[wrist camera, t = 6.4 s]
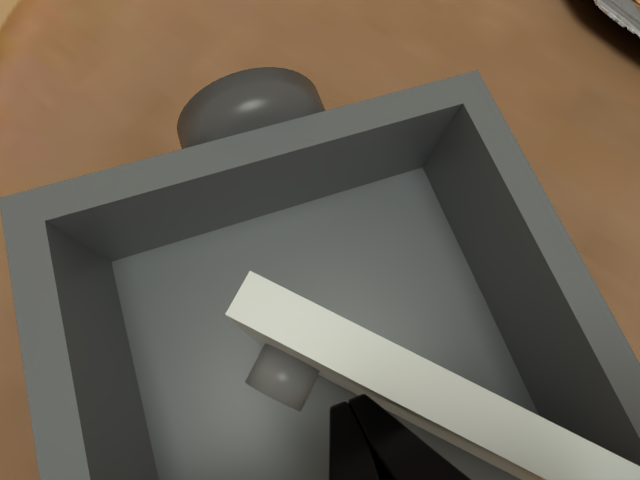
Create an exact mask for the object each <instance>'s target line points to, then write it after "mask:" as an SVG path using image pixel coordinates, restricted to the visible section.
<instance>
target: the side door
mask: <svg viewBox="0 0 640 480" xmlns="http://www.w3.org/2000/svg"><path fill="white" fill-rule="evenodd" d="M225 315H226V316H227V317H229V318H230V319H231V320H232V321H233V322H234V323H235V324H237V325H238V326H239V327H240V328H241V329H242V330H243V331H245V332H246V333H247V334H248V335H249V336H250V337H251V338H253V339H254V340H255V341H256V342H257V343H258V344H260V345H262V346H263V348H262V350H261V352H260V354H259V356H258V358H257V360H256V362H255V363H254V365H253V367H252V369H251V371H250V373H249V375H248V377H247V379H246V381H245V383H247V384H248V385H249V386H251V387H253V388H254V389H256V390H258V391H259V392H261V393H263V394H265V395H266V396H268V397H270V398H272V399H274V400H276V401H278V402H280V403H282V404H284V405H286V406H288V407H290V408H293V409H295V410H297V411H301V410H302V408H303V406H304V404H305V402H306V400H307V398H308V395H309V393H310V391H311V389H312V387H313V385H314V383H315V380H316V378H317V376H318V375H320V376H322V377H324V378H325V379H327V380H329V381H331V382H333V383H335V384H337V385H339V386H341V387H343V388H345V389H347V390H349V391H351V392H353V393H354V394H356V395H361V394H366V395H367V396H369V397H370V398H371V399H372V400H374V401H375V402H376V403H377V404H379V405H380V406H381V407H382V408H384V409H385V410H387V411H389V412H391V413H393V414H395V415H397V416H399V417H401V418H403V419H405V420H407V421H409V422H411V423H413V424H414V425H416V426H418V427H420V428H422V429H424V430H426V431H428V432H430V433H432V434H434V435H436V436H438V437H440V438H442V439H443V440H445V441H447V442H449V443H451V444H453V445H455V446H457V447H459V448H461V449H463V450H465V451H467V452H469V453H471V454H472V455H474V456H476V457H478V458H480V459H482V460H484V461H486V462H488V463H490V464H492V465H494V466H496V467H498V468H500V469H501V470H503V471H505V472H507V473H509V474H511V475H513V476H515V477H517V478H519V479H521V480H640V466H638V465H636V464H634V463H632V462H630V461H628V460H626V459H624V458H622V457H620V456H618V455H616V454H614V453H612V452H610V451H608V450H606V449H604V448H602V447H600V446H598V445H596V444H594V443H592V442H590V441H588V440H586V439H584V438H582V437H580V436H578V435H576V434H574V433H572V432H570V431H568V430H566V429H564V428H562V427H560V426H558V425H556V424H554V423H552V422H550V421H548V420H546V419H545V418H543V417H541V416H539V415H537V414H535V413H533V412H531V411H529V410H527V409H525V408H523V407H521V406H519V405H517V404H515V403H513V402H511V401H509V400H507V399H505V398H503V397H501V396H499V395H497V394H495V393H493V392H491V391H489V390H487V389H485V388H483V387H481V386H479V385H477V384H475V383H473V382H471V381H469V380H467V379H465V378H463V377H461V376H459V375H457V374H455V373H453V372H451V371H449V370H447V369H445V368H443V367H441V366H439V365H437V364H435V363H433V362H431V361H429V360H427V359H425V358H423V357H421V356H419V355H417V354H415V353H413V352H411V351H409V350H407V349H405V348H403V347H401V346H399V345H397V344H395V343H393V342H391V341H389V340H387V339H385V338H383V337H381V336H379V335H377V334H375V333H373V332H371V331H369V330H367V329H365V328H363V327H361V326H359V325H357V324H355V323H353V322H351V321H349V320H347V319H345V318H343V317H341V316H339V315H337V314H335V313H333V312H331V311H329V310H327V309H325V308H323V307H322V306H320V305H318V304H316V303H314V302H312V301H310V300H308V299H306V298H304V297H302V296H300V295H298V294H296V293H294V292H292V291H290V290H288V289H286V288H284V287H282V286H280V285H278V284H276V283H274V282H272V281H270V280H268V279H266V278H264V277H262V276H260V275H258V274H256V273H254V272H252V271H249V273H248V275H247V277H246V278H245V280H244V282H243V284H242V285H241V287H240V289H239V291H238V292H237V294H236V296H235V298H234V300H233V301H232V303H231V305H230V307H229V308H228V310H227V312H226V314H225Z"/></svg>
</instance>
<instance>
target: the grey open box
mask: <svg viewBox="0 0 640 480" xmlns="http://www.w3.org/2000/svg"><path fill="white" fill-rule="evenodd" d="M177 132H178V137H179V140H180V144H181V147H182V149H181V150H177V151H173V152H169V153H166V154H162V155H158V156H154V157H151V158H147V159H143V160H140V161H136V162H132V163H128V164H125V165H121V166H117V167H113V168H110V169H106V170H102V171H98V172H95V173H91V174H87V175H83V176H80V177H76V178H72V179H69V180H65V181H61V182H57V183H54V184H50V185H46V186H42V187H39V188H35V189H31V190H27V191H24V192H20V193H16V194H12V195H9V196H5V197H1V198H0V209H1V216H2V223H3V230H4V237H5V244H6V251H7V258H8V264H9V271H10V278H11V285H12V292H13V299H14V306H15V313H16V319H17V326H18V333H19V340H20V347H21V354H22V361H23V368H24V374H25V381H26V388H27V395H28V402H29V409H30V416H31V423H32V430H33V436H34V443H35V450H36V457H37V464H38V471H39V478H40V480H329V411H330V407H331V406H333V405H335V404H338V403H340V402H343V401H347V402H348V400H349V399H350V398H353V397H356V396H358V395H356V394H354V393H353V392H351V391H349V390H347V389H345V388H343V387H341V386H339V385H337V384H335V383H333V382H331V381H329V380H327V379H325V378H324V377H322V376H320V375H318V376H317V378H316V380H315V383H314V385H313V387H312V389H311V391H310V393H309V395H308V398H307V400H306V402H305V404H304V406H303V408H302V410H301V411H297V410H295V409H293V408H290V407H288V406H286V405H284V404H282V403H280V402H278V401H276V400H274V399H272V398H270V397H268V396H266V395H265V394H263V393H261V392H259V391H258V390H256V389H254V388H253V387H251V386H249V385H248V384H247V383H245V381H246V379H247V377H248V375H249V373H250V371H251V369H252V367H253V365H254V363H255V362H256V360H257V358H258V356H259V354H260V352H261V350H262V348H263V346H262V345H260V344H258V343H257V342H256V341H255V340H254V339H253V338H251V337H250V336H249V335H248V334H247V333H246V332H245V331H243V330H242V329H241V328H240V327H239V326H238V325H237V324H235V323H234V322H233V321H232V320H231V319H230V318H229V317H227V316H226V315H225V314H226V312H227V310H228V308H229V307H230V305H231V303H232V301H233V300H234V298H235V296H236V294H237V292H238V291H239V289H240V287H241V285H242V284H243V282H244V280H245V278H246V277H247V275H248V273H249V271H252V272H254V273H256V274H258V275H260V276H262V277H264V278H266V279H268V280H270V281H272V282H274V283H276V284H278V285H280V286H282V287H284V288H286V289H288V290H290V291H292V292H294V293H296V294H298V295H300V296H302V297H304V298H306V299H308V300H310V301H312V302H314V303H316V304H318V305H320V306H322V307H323V308H325V309H327V310H329V311H331V312H333V313H335V314H337V315H339V316H341V317H343V318H345V319H347V320H349V321H351V322H353V323H355V324H357V325H359V326H361V327H363V328H365V329H367V330H369V331H371V332H373V333H375V334H377V335H379V336H381V337H383V338H385V339H387V340H389V341H391V342H393V343H395V344H397V345H399V346H401V347H403V348H405V349H407V350H409V351H411V352H413V353H415V354H417V355H419V356H421V357H423V358H425V359H427V360H429V361H431V362H433V363H435V364H437V365H439V366H441V367H443V368H445V369H447V370H449V371H451V372H453V373H455V374H457V375H459V376H461V377H463V378H465V379H467V380H469V381H471V382H473V383H475V384H477V385H479V386H481V387H483V388H485V389H487V390H489V391H491V392H493V393H495V394H497V395H499V396H501V397H503V398H505V399H507V400H509V401H511V402H513V403H515V404H517V405H519V406H521V407H523V408H525V409H527V410H529V411H531V412H533V413H535V414H537V415H539V416H541V417H543V418H545V419H546V420H548V421H550V422H552V423H554V424H556V425H558V426H560V427H562V428H564V429H566V430H568V431H570V432H572V433H574V434H576V435H578V436H580V437H582V438H584V439H586V440H588V441H590V442H592V443H594V444H596V445H598V446H600V447H602V448H604V449H606V450H608V451H610V452H612V453H614V454H616V455H618V456H620V457H622V458H624V459H626V460H628V461H630V462H632V463H634V464H636V465H638V466H640V363H639V362H638V360H637V358H636V356H635V354H634V353H633V351H632V349H631V347H630V345H629V343H628V342H627V340H626V338H625V336H624V334H623V333H622V331H621V329H620V327H619V325H618V324H617V322H616V320H615V318H614V316H613V315H612V313H611V311H610V309H609V307H608V305H607V304H606V302H605V300H604V298H603V296H602V295H601V293H600V291H599V289H598V287H597V286H596V284H595V282H594V280H593V278H592V276H591V275H590V273H589V271H588V269H587V267H586V266H585V264H584V262H583V260H582V258H581V257H580V255H579V253H578V251H577V249H576V248H575V246H574V244H573V242H572V240H571V238H570V237H569V235H568V233H567V231H566V229H565V228H564V226H563V224H562V222H561V220H560V219H559V217H558V215H557V213H556V211H555V209H554V208H553V206H552V204H551V202H550V200H549V199H548V197H547V195H546V193H545V191H544V190H543V188H542V186H541V184H540V182H539V181H538V179H537V177H536V175H535V173H534V171H533V170H532V168H531V166H530V164H529V162H528V161H527V159H526V157H525V155H524V153H523V152H522V150H521V148H520V146H519V144H518V142H517V141H516V139H515V137H514V135H513V133H512V132H511V130H510V128H509V126H508V124H507V123H506V121H505V119H504V117H503V115H502V114H501V112H500V110H499V108H498V106H497V104H496V103H495V101H494V99H493V97H492V95H491V94H490V92H489V90H488V88H487V86H486V85H485V83H484V81H483V79H482V77H481V75H480V74H479V72H478V70H476V71H472V72H469V73H465V74H461V75H457V76H454V77H450V78H446V79H442V80H439V81H435V82H431V83H427V84H424V85H420V86H416V87H412V88H409V89H405V90H401V91H398V92H394V93H390V94H386V95H383V96H379V97H375V98H371V99H368V100H364V101H360V102H356V103H353V104H349V105H345V106H341V107H338V108H334V109H330V110H326V111H325V109H324V106H323V104H322V101H321V99H320V97H319V94H318V92H317V90H316V87H315V86H314V84H313V83H312V82H311V81H310V80H309V79H308V78H307V77H305V76H304V75H302V74H300V73H298V72H295V71H292V70H288V69H284V68H275V67H263V68H254V69H248V70H243V71H240V72H236V73H233V74H230V75H228V76H225V77H223V78H220V79H218V80H216V81H214V82H212V83H211V84H209V85H208V86H206V87H205V88H203V89H202V90H200V91H199V92H198V93H197V94H195V95H194V96H193V97H192V98H191V99H190V100H189V102H188V103H187V104H186V106H185V107H184V108H183V110H182V112H181V114H180V116H179V119H178V124H177ZM386 411H387V410H386ZM387 412H388V413H390V414H391V415H392V416H393V417H395V418H396V419H397V420H398V421H400V422H401V423H402V424H403V425H405V426H406V427H407V428H408V429H410V430H411V431H412V432H413V433H415V434H416V435H417V436H418V437H419V438H421V439H422V440H423V441H424V442H426V443H427V444H428V445H429V446H431V447H432V448H433V449H434V450H436V451H437V452H438V453H439V454H441V455H442V456H443V457H444V458H446V459H447V460H448V461H449V462H451V463H452V464H453V465H454V466H455V467H457V468H458V469H459V470H460V471H462V472H463V473H464V474H465V475H467V476H468V477H469V478H470V479H472V480H521V479H519V478H517V477H515V476H513V475H511V474H509V473H507V472H505V471H503V470H501V469H500V468H498V467H496V466H494V465H492V464H490V463H488V462H486V461H484V460H482V459H480V458H478V457H476V456H474V455H472V454H471V453H469V452H467V451H465V450H463V449H461V448H459V447H457V446H455V445H453V444H451V443H449V442H447V441H445V440H443V439H442V438H440V437H438V436H436V435H434V434H432V433H430V432H428V431H426V430H424V429H422V428H420V427H418V426H416V425H414V424H413V423H411V422H409V421H407V420H405V419H403V418H401V417H399V416H397V415H395V414H393V413H391V412H389V411H387Z"/></svg>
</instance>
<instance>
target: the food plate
mask: <svg viewBox="0 0 640 480" xmlns="http://www.w3.org/2000/svg"><path fill="white" fill-rule="evenodd" d="M594 1H595V4H596V6H598V8H599V9H601V10H602V11H603V12H604V13H605V14H607V15H608V16H610V18H613V20H614V21H615V22H618V24H619V25H621V26H622V27H624V26H626V27H627V30H629V31H631V32H632V33H633V34H634V33H635V34H638V37H640V0H594Z"/></svg>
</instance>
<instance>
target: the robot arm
mask: <svg viewBox="0 0 640 480" xmlns="http://www.w3.org/2000/svg"><path fill="white" fill-rule="evenodd" d="M329 480H472V479H470V478H469V477H468V476H467V475H465V474H464V473H463V472H462V471H460V470H459V469H458V468H457V467H455V466H454V465H453V464H452V463H451V462H449V461H448V460H447V459H446V458H444V457H443V456H442V455H441V454H439V453H438V452H437V451H436V450H434V449H433V448H432V447H431V446H429V445H428V444H427V443H426V442H424V441H423V440H422V439H421V438H419V437H418V436H417V435H416V434H415V433H413V432H412V431H411V430H410V429H408V428H407V427H406V426H405V425H403V424H402V423H401V422H400V421H398V420H397V419H396V418H395V417H393V416H392V415H391V414H390V413H388V412H387V411H386V410H385V409H384V408H382V407H381V406H380V405H379V404H377V403H376V402H375V401H374V400H372V399H371V398H370V397H369V396H367V395H366V394H361V395H358V396H356V397H353V398H350V399H349V400H348V402H347V401H343V402H340V403H338V404H335V405H333V406H331V407H330V411H329Z"/></svg>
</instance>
